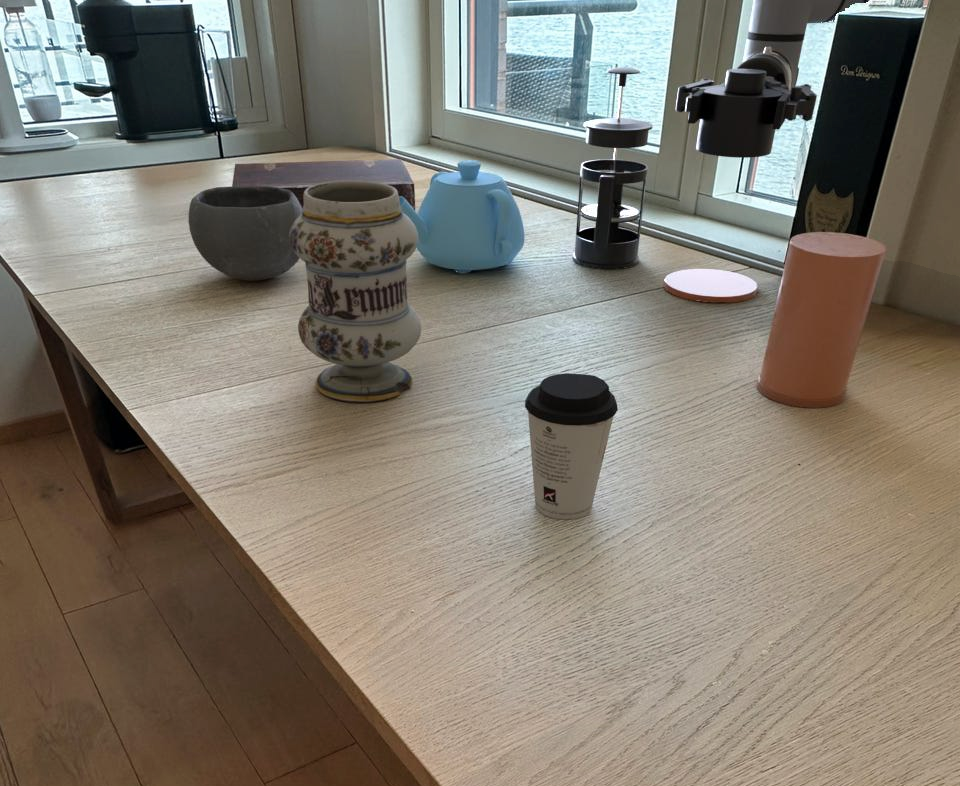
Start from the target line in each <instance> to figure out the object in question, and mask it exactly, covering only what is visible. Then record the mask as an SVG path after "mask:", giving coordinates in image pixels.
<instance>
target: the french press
mask: <svg viewBox="0 0 960 786" xmlns="http://www.w3.org/2000/svg"><path fill="white" fill-rule="evenodd" d="M606 73H607V74H610V75H611V74H612V75H618V86H617V87H619V97H618V107H617V108H618V110H617V117H605V118H598V119H597V118H596V119H590V120H587V121H585V122H584V123H583V127H584V128H585V129H586V135H585V142H586V144H588V145H590V146H593V147H598V148H608V149H614V152H613V159H612V158H609V159H608V158H607V159H592V160H588V161H587V160H586V161H584V162H582V163H581V164H580V173H579V174H580V175H579V188H578V202H577V215H576V229H575V242H574V252H573V254H572V260H573V261H574V263H576V262H577V263H576V264H578V263H579V264H578V265H580V264H581V265H580V266H583V265H585V266H584V267H586V266H588V267H587V268H591V267H594V268H593V269H597V268H601V269H600V270H616V269H615V268H622V269H625V268H624V267H628V268H631V267H630V266H632V267H634V266H636V265H637V264H638V263H639V260H640V257H639V255H638V254H639V248H640V247H639V246H640V239H641V231H642V229H641V228H642V220H643V214H644V213H643V212H644V204H645V197H646V196H645V195H646V186H647V180H648V179H647V177H648V169H649V166H648V165H647V164H645V163H642V162H638V161H634V160H627V159H618V158H617V157H618V149H635V148H636V149H637V148H643V147H645V146H647V145H648V139H649V131H651V130H653V127H654V125H653V124H652V123H651V122H648V121H643V120H637V119H632V118H625V117H621V115H622V105H623V95H624V88H625V87H626V85H627V76H628V75H637V74H640V73H641V72H640V70H639V69H636V68H634V67H625V66H624V67H622V66H620V67H619V66H618V67H612V68H608V69H607V70H606ZM609 171H610V172H609ZM584 181H588V182H592V183H597V184H598V193H597V203H596V204H589V205H585V206H582V204H583V193H584V192H583V189H584ZM641 182H643V183H642V190H641V200H640V209H638V208H636V207H633V206H631V205H625V204H622V200H623V190H624V185H628V184H636V183H637V184H638V183H641ZM581 218H583V219H585V220H587V221H591V222H595V226H592V227H585V228H582V229H581ZM636 220H638V225H637V226H638V227H637V231H634V230H631V229H629V228H623V227H620V224H622V223H623V224H624V223H630V222H634V221H636ZM635 264H636V265H635ZM633 265H634V266H633Z"/></svg>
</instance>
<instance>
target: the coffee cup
mask: <svg viewBox="0 0 960 786" xmlns="http://www.w3.org/2000/svg"><path fill="white" fill-rule="evenodd" d="M524 408H525V409H526V411H527V417H528V429H529V430H528V431H529V442H530V443H529V444H530V452H531V454H530V455H531V468H532V481H533V492H534V493H533V495H534V506H535V508H536V509H537V511H538V512H539V513H541V514H542V515H543V516H546V517H549V518H552V519H555V520H575V519H579V518H583V517H585V516H586V515H588V514H589V513H590V512H591V510H592V508H593V504H594V499H595V496H596V491H597V487H598V483H599V478H600V475H601V472H602V471H601V470H602V466H603V463H604V458H605V454H606V449H607V445H608V442H609V438H610V433H611V429H612V425H613V420H614V416H615V415H616V414H617V413H618V411H619V408H618V403H617V399H616V396H615V395H614V394H613V392H611V390H610V386H609V384H608V383H607V382H606V381H605V380H604V379H602V378H600V377H598V376H597V375H595V374H594V375H593V374H584V373H570V372H569V373H568V372H565V373H556V374H553V375H549V376H547V377H545V378H543V379H542V381H540V384H539V385H537V386H535V387H534V388H532V389H531V390H530V392H529V393H528V394H527V396H526V398H525V400H524Z"/></svg>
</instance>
